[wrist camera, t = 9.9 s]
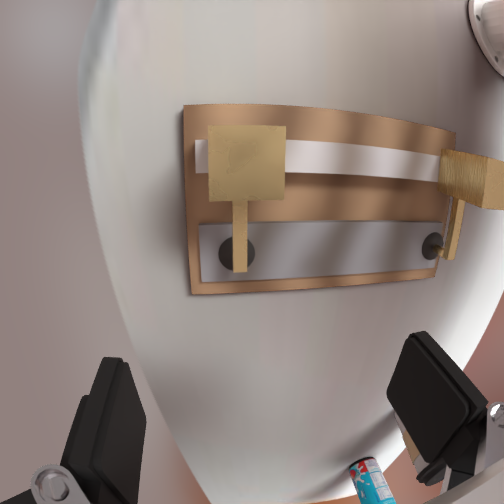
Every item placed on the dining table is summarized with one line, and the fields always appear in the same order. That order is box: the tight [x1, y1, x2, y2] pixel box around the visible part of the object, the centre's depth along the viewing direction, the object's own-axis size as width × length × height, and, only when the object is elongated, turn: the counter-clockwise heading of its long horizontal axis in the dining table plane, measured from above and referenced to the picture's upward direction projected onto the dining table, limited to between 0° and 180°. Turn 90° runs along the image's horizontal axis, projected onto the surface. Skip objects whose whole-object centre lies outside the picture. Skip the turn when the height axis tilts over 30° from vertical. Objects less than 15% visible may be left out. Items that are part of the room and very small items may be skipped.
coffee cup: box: [394, 412, 447, 486], centre depth 34 cm, size 9×9×15 cm
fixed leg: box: [433, 148, 504, 260], centre depth 22 cm, size 4×10×7 cm, turn 179°
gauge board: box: [184, 104, 456, 294], centre depth 25 cm, size 26×16×3 cm, turn 89°
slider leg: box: [208, 125, 286, 273], centre depth 20 cm, size 4×10×7 cm, turn 179°
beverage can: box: [349, 457, 396, 504], centre depth 40 cm, size 6×6×15 cm
